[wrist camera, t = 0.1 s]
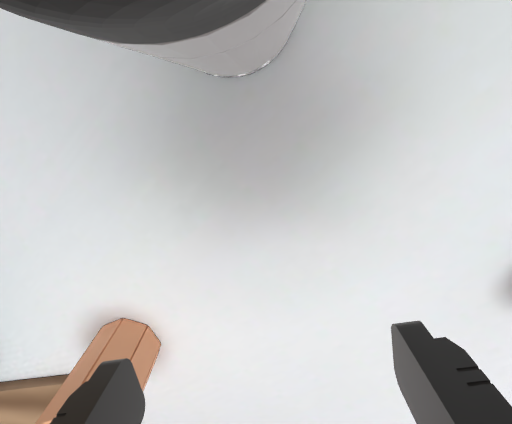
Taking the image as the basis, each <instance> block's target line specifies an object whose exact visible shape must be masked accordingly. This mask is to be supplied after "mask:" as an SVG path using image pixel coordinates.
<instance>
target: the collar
mask: <svg viewBox="0 0 512 424" xmlns="http://www.w3.org/2000/svg"><path fill="white" fill-rule="evenodd" d="M160 346H161V344H160V341H159V340H158V338H157V337H156V336H155V334H154V333H153V331H152V330H151V329H150V327H149V326H147V325H145V324H142V323H139V322H135V321H132V320H129V319H125V318H124V319H123V318H122V319H119V320H117V321H114V322H112V323H109V324H107V325H104V326H103V327H102V328H101V329H100V331H99V332H98V334H97V335H96V337H95V338H94V339H93V341H92V342H91V344H90V345H89V347H88V348H87V350H86V351H85V352H84V354H83V355H82V357H81V358H80V360H79V361H78V363H77V364H76V365H75V367H74V368H73V370H72V371H71V373H70V374H69V376H68V377H67V378H66V380H65V381H64V383H63V384H62V386H61V387H60V389H59V390H58V391H57V393H56V394H55V396H54V397H53V399H52V400H51V402H50V403H49V404H48V406H47V407H46V409H45V410H44V412H43V413H42V415H41V416H40V417H39V419H38V420H37V422H36V423H35V424H50V423H51V421H52V420H53V418H56V416H57V415H56V414H57V413H58V411H59V410H60V408H61V407H62V406H63V404H64V403H65V401H66V400H67V398H68V397H69V396H70V395H71V394H72V393H73V392H74V391H76V390H77V389H78V388H79V387H80V386H81V385H82V384H83V383H84V382H86V381H89V379H90V378H91V376H92V375H93V373H94V372H95V370H96V369H97V367H98V366H99V365H100V364H101V363H102V362H104V361H110V360H117V359H125V358H128V359H130V360H131V362H132V364H133V367H134V370H135V372H136V375H137V378H138V380H139V383H140V386H141V389H142V391H144V388H145V386H146V383H147V381H148V378H149V376H150V373H151V371H152V368H153V366H154V364H155V361H156V358H157V355H158V352H159V349H160Z"/></svg>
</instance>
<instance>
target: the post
mask: <svg viewBox="0 0 512 424" xmlns="http://www.w3.org/2000/svg"><path fill="white" fill-rule="evenodd" d="M68 376H69V374H68V375H60V376H51V377H42V378H34V379H25V380H17V381H8V382H0V424H35V423H36V422H37V420H38V419H39V417H40V416H41V415H42V413H43V412H44V410H45V409H46V407H47V406H48V404H49V403H50V402H51V400H52V399H53V397H54V396H55V394H56V393H57V391H58V390H59V389H60V387H61V386H62V384H63V383H64V381H65V380H66V378H67V377H68Z"/></svg>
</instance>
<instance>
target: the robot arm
mask: <svg viewBox="0 0 512 424" xmlns="http://www.w3.org/2000/svg"><path fill="white" fill-rule="evenodd" d="M305 2H306V0H0V8H2V9H4V10H7V11H9V12H12V13H14V14H17V15H19V16H22V17H25V18H28V19H31V20H35V21H38V22H41V23H44V24H47V25H51V26H54V27H57V28H60V29H64V30H67V31H70V32H73V33H76V34H80V35H84V36H87V37H91V38H94V39H97V40H101V41H104V42H107V43H110V44H114V45H117V46H120V47H124V48H127V49H130V50H134V51H137V52H141V53H144V54H147V55H151V56H154V57H157V58H160V59H164V60H167V61H170V62H173V63H177V64H180V65H183V66H186V67H190V68H193V69H196V70H199V71H202V72H205V73H206V74H209V75H213V76H219V77H240V76H245V75H248V74H251V73H254V72H256V71H258V70H260V69H261V68H263V67H265V66H266V65H268V64H269V63H270V62H271V61H272V60H273V59H274V58H275V57H276V56H277V55H278V54H279V53H280V51H281V50H282V49H283V47H284V46H285V44H286V43H287V41H288V39H289V37H290V35H291V32H292V30H293V29H294V27H295V25H296V22H297V20H298V18H299V16H300V13H301V11H302V9H303V7H304V5H305ZM391 333H392V346H393V359H394V369H395V374H396V378H397V382H398V385H399V387H400V390H401V392H402V394H403V396H404V398H405V400H406V402H407V404H408V407H409V409H410V411H411V413H412V415H413V417H414V419H415V421H416V423H417V424H512V407H511V405H510V404H509V403H508V402H507V400H506V399H505V398H504V397H503V396H502V394H501V393H500V392H499V391H498V390H497V388H496V387H495V386H494V385H493V384H491V383H490V380H489V379H488V378H487V376H486V375H485V374H484V373H483V372H482V370H481V369H480V370H479V368H478V366H477V364H476V363H475V362H474V361H473V360H472V358H471V357H470V356H469V355H468V354H467V352H466V351H465V350H464V349H462V348H461V347H459V346H458V345H456V344H455V343H453V342H452V341H450V340H449V339H447V338H446V337H443V338H435V339H434V338H433V337H432V336H431V334H430V333H429V332H428V330H427V329H426V327H425V326H424V325H423V324H422V322H420V321H412V322H405V323H397V324H392V326H391ZM144 411H145V398H144V394H143V391H142V389H141V386H140V383H139V380H138V378H137V375H136V372H135V370H134V367H133V364H132V362H131V360H130V359H128V358H125V359H117V360H110V361H104V362H102V363H101V364H100V365H99V366H98V367H97V369H96V370H95V372H94V373H93V375H92V376H91V378H90V379H89V381H86V382H84V383H83V384H82V385H81V386H80V387H79V388H78V389H77V390H76V391H74V392H73V393H72V394H71V395H70V396H69V397H68V398H67V400H66V401H65V403H64V404H63V406H62V407H61V408H60V410H59V411H58V413H57V414H56V415H57V416H56V418H53V420H52V421H51V423H50V424H141V422H142V419H143V416H144Z"/></svg>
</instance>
